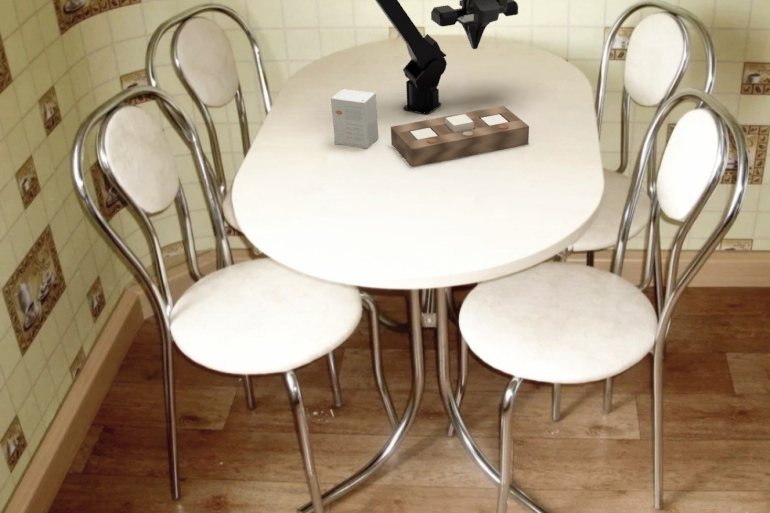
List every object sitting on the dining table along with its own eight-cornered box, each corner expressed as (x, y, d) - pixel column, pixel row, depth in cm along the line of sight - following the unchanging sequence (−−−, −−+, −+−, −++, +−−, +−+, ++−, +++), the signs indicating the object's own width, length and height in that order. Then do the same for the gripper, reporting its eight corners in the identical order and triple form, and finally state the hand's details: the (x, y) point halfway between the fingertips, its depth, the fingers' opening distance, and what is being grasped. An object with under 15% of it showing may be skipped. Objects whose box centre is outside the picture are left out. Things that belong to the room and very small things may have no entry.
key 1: (418, 153, 195) (417, 139, 194) (410, 144, 199) (409, 131, 197) (437, 149, 197) (437, 135, 195) (429, 140, 200) (429, 127, 199)
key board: (412, 167, 192) (411, 148, 190) (391, 144, 202) (390, 125, 200) (528, 143, 199) (529, 125, 197) (502, 122, 209) (503, 104, 207)
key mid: (453, 139, 197) (453, 125, 195) (445, 131, 200) (445, 117, 199) (473, 135, 198) (473, 121, 196) (464, 127, 201) (464, 114, 200)
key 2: (489, 138, 200) (489, 125, 198) (480, 130, 203) (480, 117, 202) (508, 135, 201) (508, 121, 199) (499, 127, 204) (499, 114, 203)
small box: (379, 138, 204) (376, 92, 199) (368, 149, 200) (365, 102, 195) (345, 133, 207) (342, 88, 202) (334, 144, 203) (330, 97, 198)
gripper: (450, -6, 197) (450, 66, 206) (531, -18, 202) (528, 53, 211) (429, -19, 206) (430, 50, 215) (507, -31, 211) (506, 38, 220)
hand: (474, 48), depth 215 cm, fingers closed
